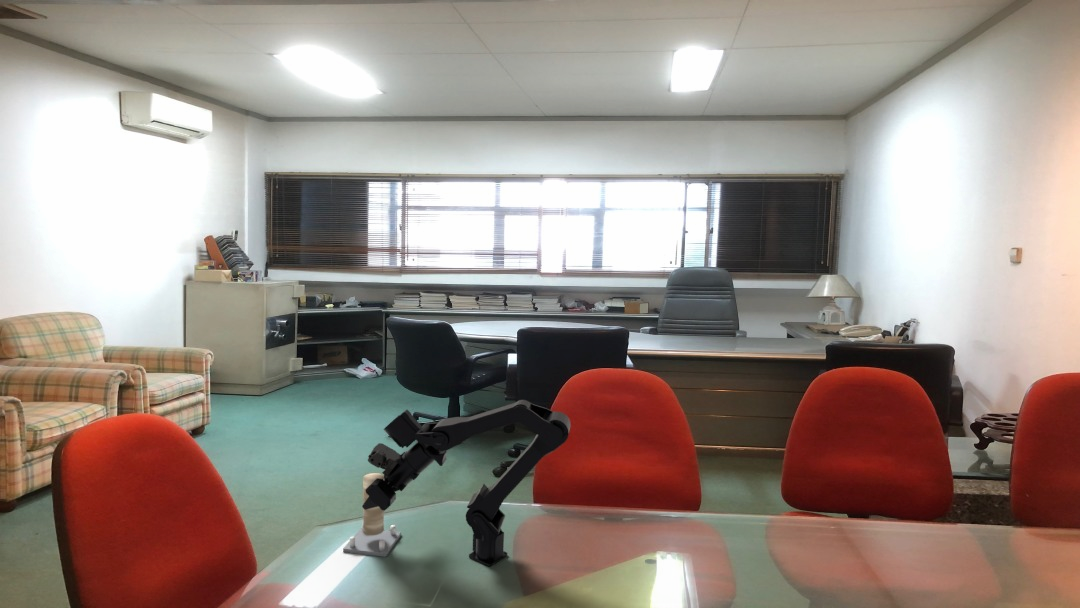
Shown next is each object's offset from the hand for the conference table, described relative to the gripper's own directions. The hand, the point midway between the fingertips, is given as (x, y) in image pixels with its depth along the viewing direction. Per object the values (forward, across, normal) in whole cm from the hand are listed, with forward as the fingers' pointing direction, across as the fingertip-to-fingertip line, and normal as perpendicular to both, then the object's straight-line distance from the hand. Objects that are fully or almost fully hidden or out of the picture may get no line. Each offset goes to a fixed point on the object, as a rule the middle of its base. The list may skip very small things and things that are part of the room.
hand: (367, 503), depth 145 cm
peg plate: (+6, 0, +8) cm, 10 cm away
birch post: (+4, 0, +6) cm, 7 cm away
